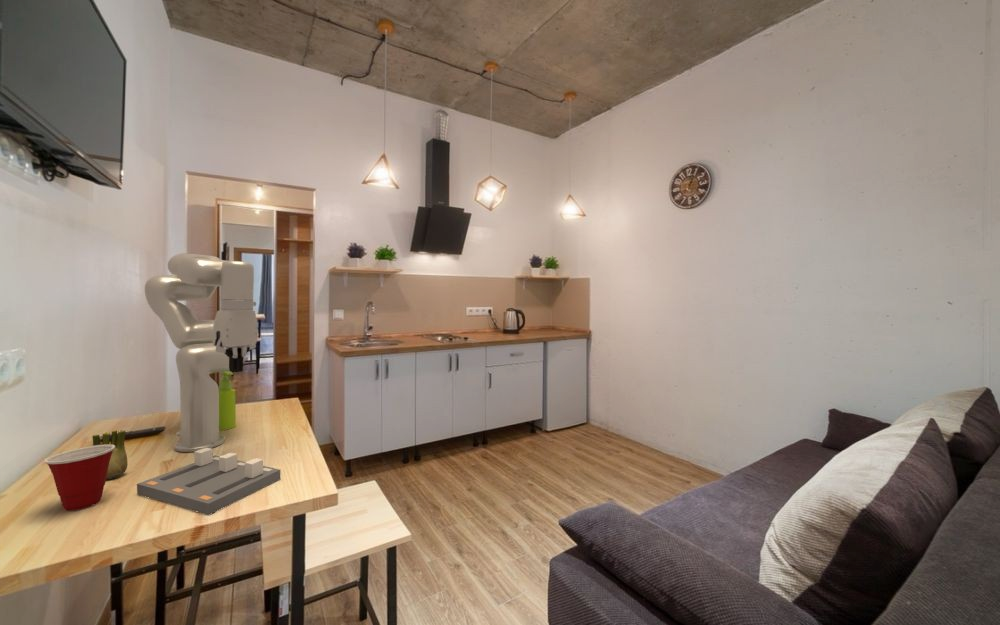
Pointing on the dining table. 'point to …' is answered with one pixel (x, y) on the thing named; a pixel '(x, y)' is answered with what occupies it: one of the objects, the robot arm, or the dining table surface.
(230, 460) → the switch
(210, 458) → the left switch
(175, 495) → the switch panel
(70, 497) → the plastic cup
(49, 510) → the dining table surface
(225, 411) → the soap dispenser
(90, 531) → the dining table surface
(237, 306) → the robot arm
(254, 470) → the right switch
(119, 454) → the fennel bulb
